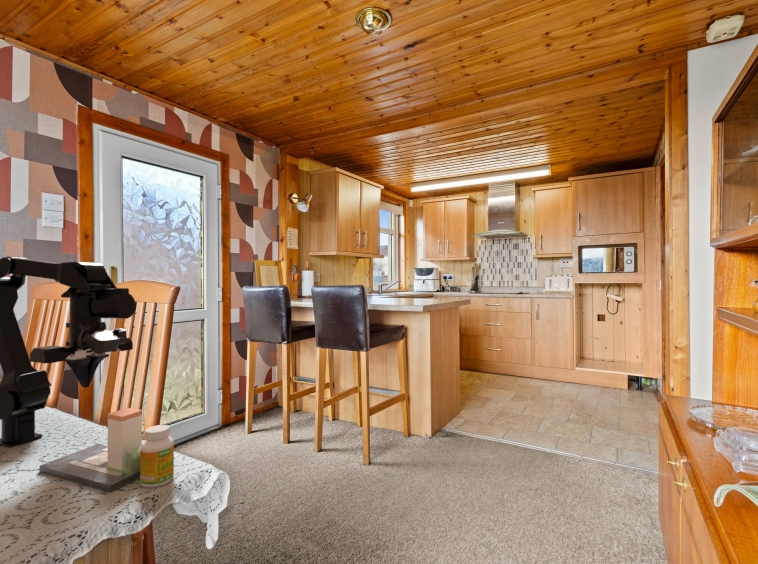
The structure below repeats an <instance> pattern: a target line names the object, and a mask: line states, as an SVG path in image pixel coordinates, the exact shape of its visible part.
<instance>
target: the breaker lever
mask: <svg viewBox="0 0 758 564" xmlns="http://www.w3.org/2000/svg"><path fill="white" fill-rule="evenodd" d="M106 416H107V446H108V467H111V468H115V469H119V470H124V469H125V460H126V452H127V451H129V450H132V449H134V448H137V447H139V446H141V444H142V443H143V440H142V439H143V437H142V436H143V435H142V434H143V424H142V422H143V419H142V418H143V410H142V409H136V408H131V407H126V408H123V409H119V410H115V411H112V412H110V413H107V414H106Z"/></svg>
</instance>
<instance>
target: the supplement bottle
mask: <svg viewBox="0 0 758 564" xmlns="http://www.w3.org/2000/svg"><path fill="white" fill-rule="evenodd" d="M170 434H171V433H170V426H169V425H168V424H158V425H153V426H150V427H147V428H146V429H145V430H144V439H145V440H144V441H142V444H141V450H140V478H139V479H140V481H139V482H140V483H139V484H140V485H141V486H142V487H143V488H158V487H162V486H164V485H166V484H168V483H169V482H171V481H172V480H173V478H174V471H175V469H174V465H175V464H174V462H175V460H174V456H175V455H174V454H175V450H174V449H175V448H174V447H175V445H174V444H175V442H174V438H173V437H171V436H170Z"/></svg>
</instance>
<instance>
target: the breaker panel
mask: <svg viewBox="0 0 758 564" xmlns="http://www.w3.org/2000/svg"><path fill="white" fill-rule="evenodd" d="M140 450H141V446H139V447H137V448H134V449H132V450H129V451H127V452H126V460H125V469H124V470H119V469H115V468H111V467H108V445H104V444H98V443H97V444H95V445H92V446H88V447H86V448H84V449H81V450H78V451H75V452H72V453H70V454H67V455H64V456H62V457H59V458H57V459H54V460H51V461H48V462H46V463H42V464H40V465H39V473H42V474H45V475H49V476H52V477H56V478H60V479H63V480H65V481H68V482H73V483H76V484H80V485H84V486H87V487H91V488H94V489H97V490H100V491H102V492H103V491H104V492H108V493H112V492H114V491H116V490H118V489H120V488H123V487H124V486H126V485H128V484H131V483H132V482H135V481H136V480H139V479H140Z"/></svg>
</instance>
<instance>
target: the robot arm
mask: <svg viewBox="0 0 758 564" xmlns="http://www.w3.org/2000/svg"><path fill="white" fill-rule="evenodd" d="M7 275H10V276H7ZM26 277H35V278H40V279H41V278H42V279H50V280H54V281H57V282H58V283H59V284H61V285H63V286H66V287H68V289H67V290H65V291H64V292H63V293H62V294H61V295H60V297H61V298H63V299H64V298H65V299H66V298H67V299H69V322H66V323H65V328H69V340H67V341H65V346H59V345H45V346H39V347H33V348H32V350H31V352H30V353H29V354H28V350H27V347H26V344H25V341H24V338H23V335H22V331H21V329H20V326H19V322H18V320H17V316H16V314H15V311H14V310H15V306H16V304H17V302H18V299H19V294H18V291H19V289H21V288H22V287H23V286H24V285H25V283H26ZM136 308H137V302H136V300H135V298H134V296H133V295H132V294H131V293H130V288H128V287H123V288H122V287H117V286H116V284H115V283H114V281H113V280H112V278H111V277H110V275H109V274H108V272H107V270H106V268H105V265H103V264H102V263H100V262H89V261H87V262H85V261H67V262H53V261H46V260H39V259H31V258H27V257H24V256H5V257H1V258H0V366H1V370H2V373H3V375H2V378H1V380H0V421H1V437H0V445H1V446H4V447H8V448H10V447H14V446H17V445H20V444H23V443H24V444H25V443H27V442H30V441H33V440H36V439H40V438H42V437H43V434H41V433H38V432H36V418H35V417H36V411H38V410H39V411H40V410H43V409H45V408H46V405H47V402H48V399H49V396H50V395H51V387H52V383H50V380H49V377H48V372H47V371H46V370H45V369H42V370H38V369H36V368H35V367H34V366H33V365H32V363H38V364H54V363H60V362H65V363H66V364H67V365H68V366H69V368H70V370H71V371H72V372H73V374H74V375H75V377H76V379H77V380H78V382H79V384H80V386H81V387H82V388H84V389H85V388H86V389H87V388H89V387H90V386H91V383H92V380H93V378H94V376H95V374H96V371H97V369H98V367H99V365H100V364H101V363H102V361H104V359H106V358H109V357H110V354H107V353H110V352H112V353H116V352H117V351H118V350H119V351H120V352H126V351H132V350H133V349H134V348H133V347H134V342H133V340H132V339H131V338H130V337H127V336H128V335H127V329H124V328H123V327H122V328H114V329H113V330H108V329H107V324H106V322H105V321H102V319H118V320H119V319H120V320H121V319H122V320H124V319H129V318H131V317H132V316H133V315H134V313H135V312H136Z"/></svg>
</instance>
